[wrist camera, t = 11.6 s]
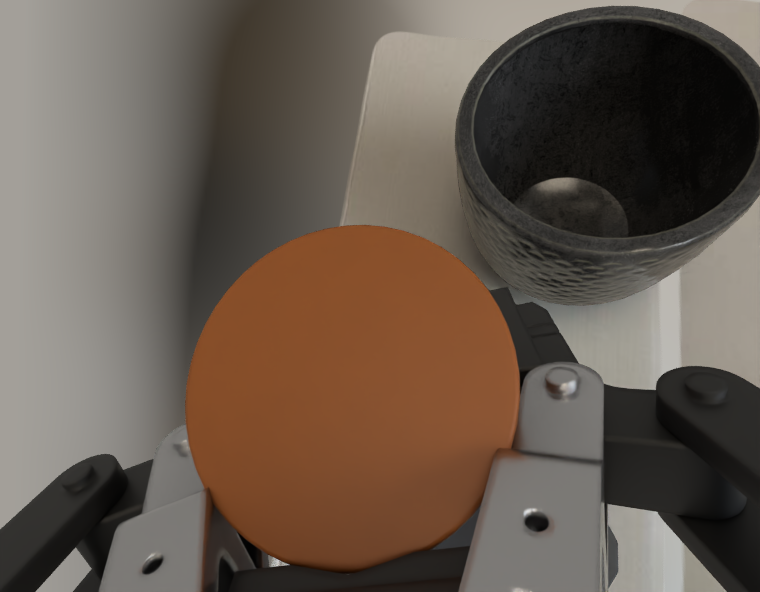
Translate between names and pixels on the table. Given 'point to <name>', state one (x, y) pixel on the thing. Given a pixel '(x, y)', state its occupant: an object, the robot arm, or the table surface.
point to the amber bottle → (351, 398)
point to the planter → (607, 151)
